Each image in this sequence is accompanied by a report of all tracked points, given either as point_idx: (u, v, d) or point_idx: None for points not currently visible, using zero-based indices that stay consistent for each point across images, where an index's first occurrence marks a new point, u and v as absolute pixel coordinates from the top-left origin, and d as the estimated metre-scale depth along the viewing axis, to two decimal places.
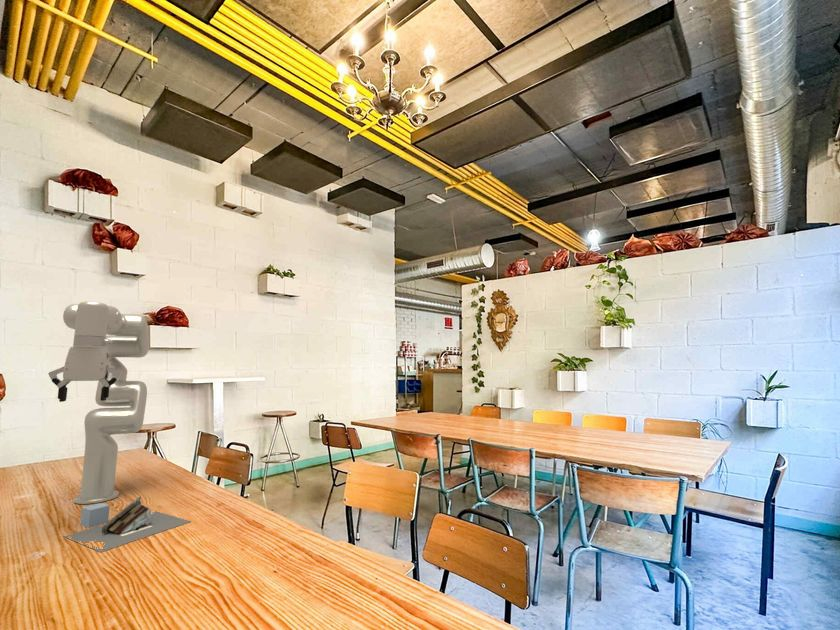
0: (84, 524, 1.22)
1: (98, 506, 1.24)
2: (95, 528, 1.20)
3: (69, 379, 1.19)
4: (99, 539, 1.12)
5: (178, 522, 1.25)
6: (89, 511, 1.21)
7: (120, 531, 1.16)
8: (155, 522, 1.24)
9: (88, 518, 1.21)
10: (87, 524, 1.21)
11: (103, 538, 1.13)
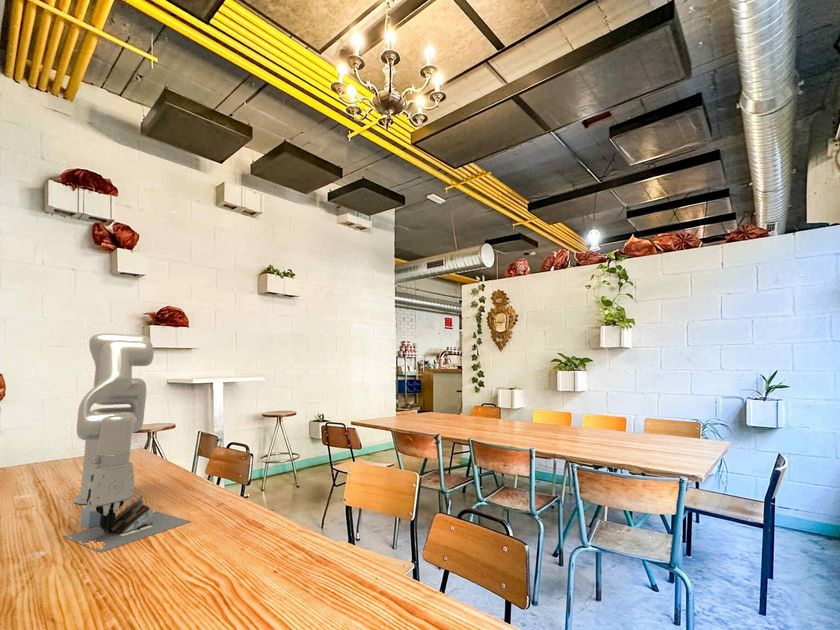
0: (84, 524, 1.22)
1: None
2: (95, 528, 1.20)
3: None
4: (99, 539, 1.12)
5: (178, 522, 1.25)
6: (89, 511, 1.21)
7: (122, 530, 1.16)
8: (155, 522, 1.24)
9: (88, 518, 1.21)
10: (87, 524, 1.21)
11: (103, 538, 1.13)
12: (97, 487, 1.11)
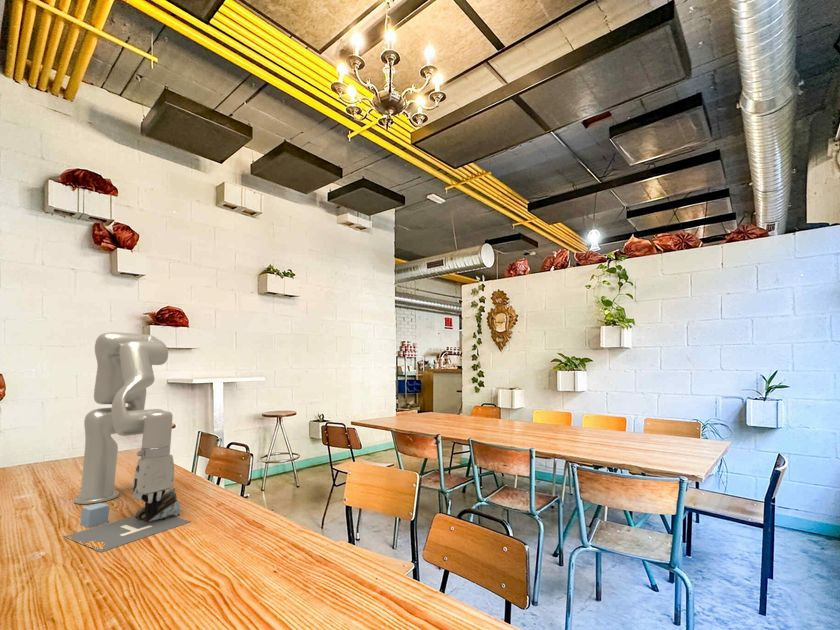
0: (84, 524, 1.22)
1: (98, 506, 1.24)
2: (95, 528, 1.20)
3: None
4: (99, 539, 1.12)
5: (178, 522, 1.25)
6: (89, 511, 1.21)
7: (148, 519, 1.25)
8: (155, 522, 1.24)
9: (88, 518, 1.21)
10: (87, 524, 1.21)
11: (103, 538, 1.13)
12: (143, 477, 1.21)
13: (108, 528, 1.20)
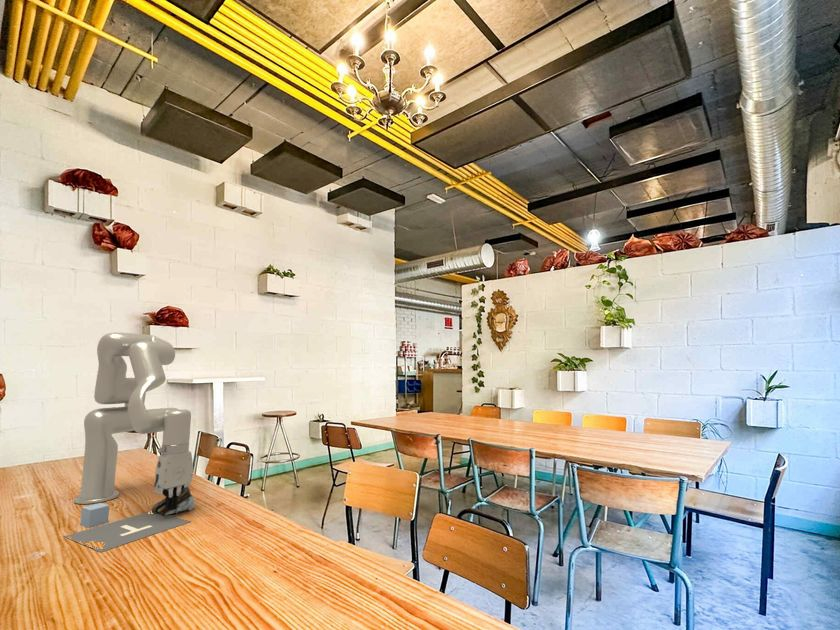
0: (84, 524, 1.22)
1: (98, 506, 1.24)
2: (95, 528, 1.20)
3: None
4: (99, 539, 1.12)
5: (178, 522, 1.25)
6: (89, 511, 1.21)
7: (164, 513, 1.30)
8: (155, 522, 1.24)
9: (88, 518, 1.21)
10: (87, 524, 1.21)
11: (103, 538, 1.13)
12: (164, 472, 1.26)
13: (108, 528, 1.20)
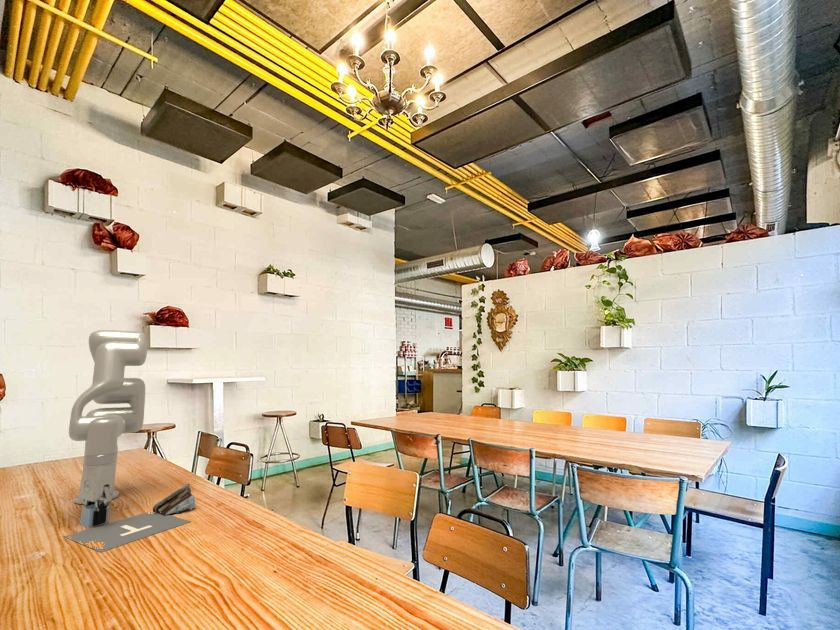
0: (84, 524, 1.22)
1: None
2: (95, 528, 1.20)
3: None
4: (99, 539, 1.12)
5: (178, 522, 1.25)
6: (89, 511, 1.21)
7: (165, 512, 1.30)
8: (155, 522, 1.24)
9: (88, 518, 1.21)
10: (87, 524, 1.21)
11: (103, 538, 1.13)
12: (81, 480, 1.25)
13: (108, 528, 1.20)
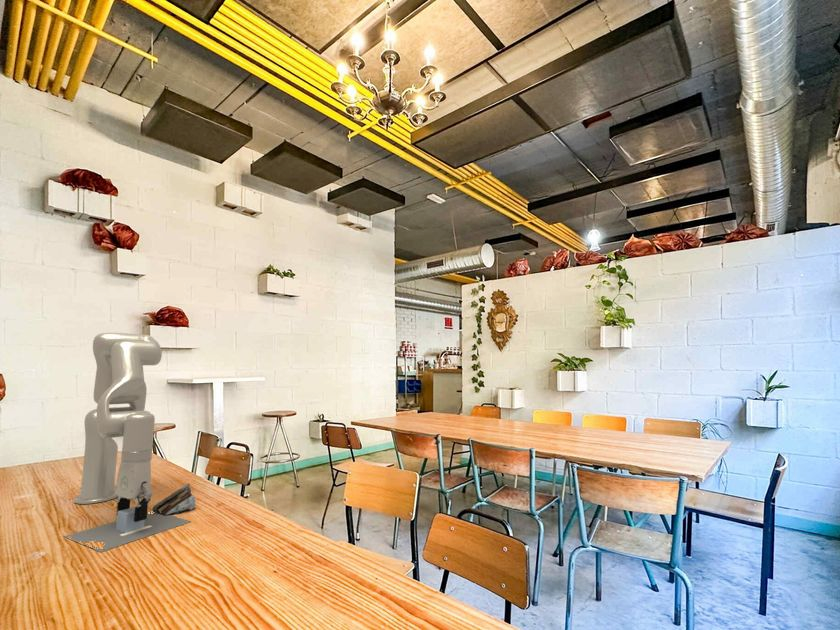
0: (120, 529, 1.18)
1: (134, 510, 1.20)
2: (95, 528, 1.20)
3: None
4: (99, 539, 1.12)
5: (178, 522, 1.25)
6: (126, 515, 1.17)
7: (165, 512, 1.30)
8: (155, 522, 1.24)
9: (125, 522, 1.17)
10: (124, 529, 1.17)
11: (103, 538, 1.13)
12: (117, 477, 1.21)
13: (108, 528, 1.20)
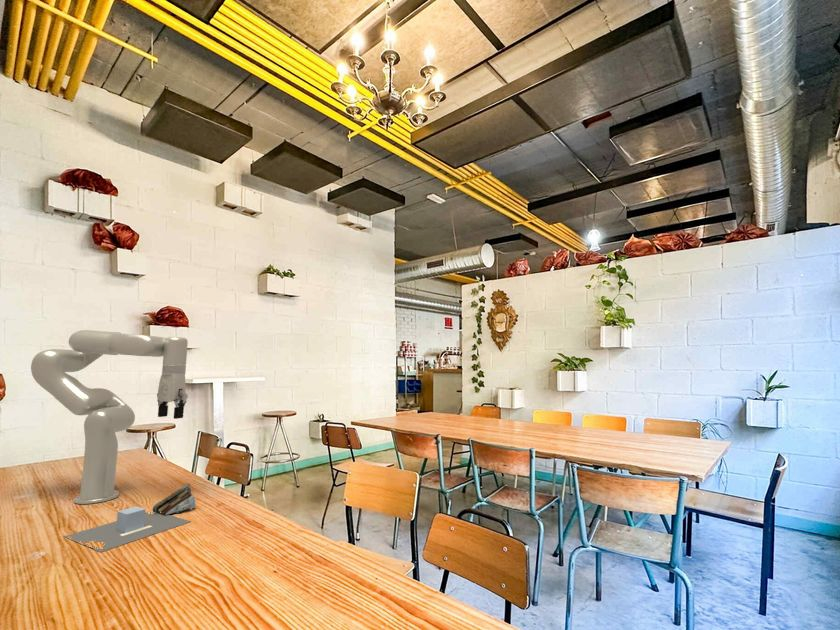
0: (120, 529, 1.18)
1: (134, 510, 1.20)
2: (95, 528, 1.20)
3: None
4: (99, 539, 1.12)
5: (178, 522, 1.25)
6: (126, 515, 1.17)
7: (165, 512, 1.30)
8: (155, 522, 1.24)
9: (125, 522, 1.17)
10: (124, 529, 1.17)
11: (103, 538, 1.13)
12: None
13: (108, 528, 1.20)
